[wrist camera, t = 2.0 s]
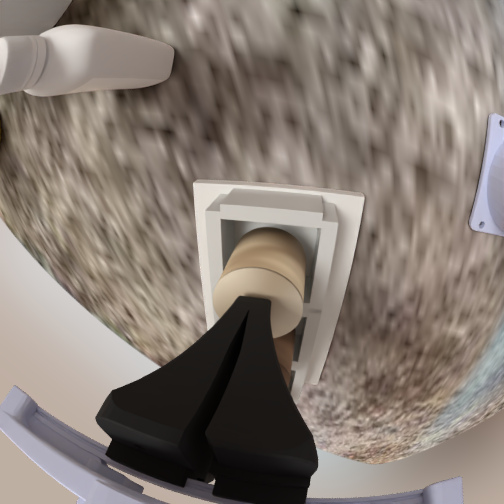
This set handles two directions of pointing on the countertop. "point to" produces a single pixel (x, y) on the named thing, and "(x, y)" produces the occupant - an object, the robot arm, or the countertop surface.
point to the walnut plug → (285, 353)
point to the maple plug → (266, 276)
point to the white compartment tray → (305, 231)
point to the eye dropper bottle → (81, 61)
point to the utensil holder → (30, 16)
